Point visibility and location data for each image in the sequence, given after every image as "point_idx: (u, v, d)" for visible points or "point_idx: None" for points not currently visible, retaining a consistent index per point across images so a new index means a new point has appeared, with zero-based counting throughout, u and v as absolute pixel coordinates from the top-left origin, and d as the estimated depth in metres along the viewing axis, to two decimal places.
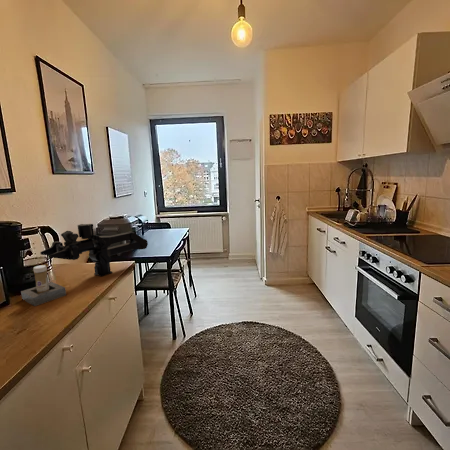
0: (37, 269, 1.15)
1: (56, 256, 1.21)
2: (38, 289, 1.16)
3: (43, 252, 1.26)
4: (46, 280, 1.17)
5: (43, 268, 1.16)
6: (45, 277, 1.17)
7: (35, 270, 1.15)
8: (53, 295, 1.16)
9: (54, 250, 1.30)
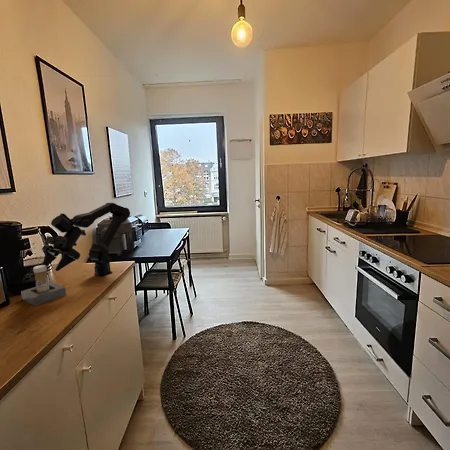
0: (37, 269, 1.15)
1: (61, 267, 1.19)
2: (38, 289, 1.16)
3: None
4: (46, 280, 1.17)
5: (43, 268, 1.16)
6: (45, 277, 1.17)
7: (35, 270, 1.15)
8: (53, 295, 1.16)
9: (50, 256, 1.25)
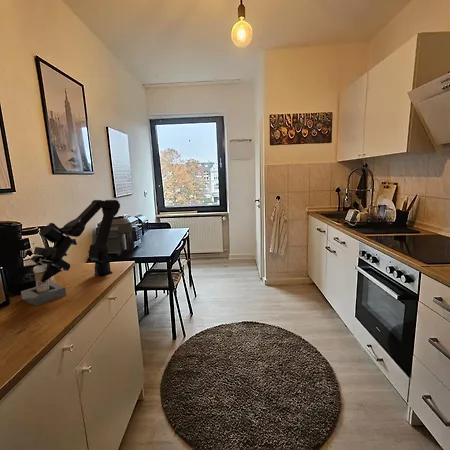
0: (37, 269, 1.15)
1: (47, 278, 1.17)
2: (38, 289, 1.16)
3: None
4: (46, 280, 1.17)
5: (43, 268, 1.16)
6: None
7: (35, 270, 1.15)
8: (53, 295, 1.16)
9: None
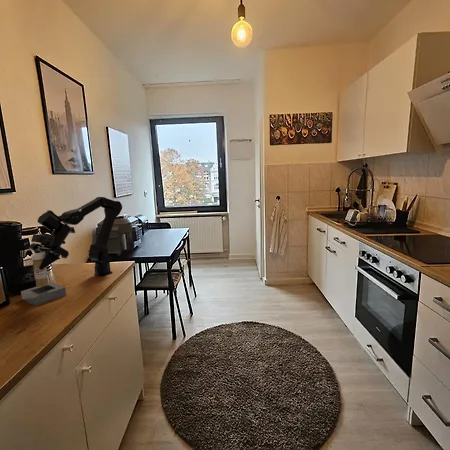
0: (35, 256, 1.14)
1: (45, 265, 1.16)
2: (36, 276, 1.15)
3: None
4: (44, 268, 1.17)
5: (41, 255, 1.15)
6: None
7: (33, 257, 1.14)
8: (53, 295, 1.16)
9: None
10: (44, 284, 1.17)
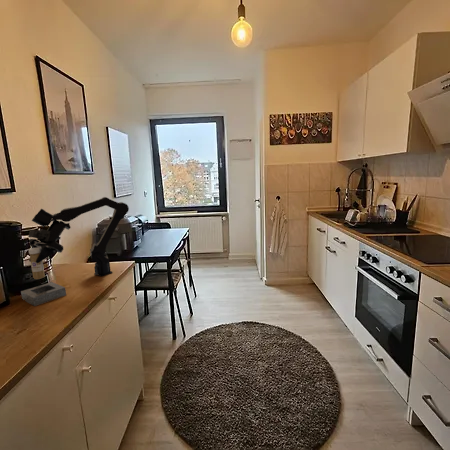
0: (32, 250, 1.22)
1: (41, 259, 1.24)
2: (33, 269, 1.24)
3: None
4: (41, 261, 1.25)
5: (37, 249, 1.23)
6: None
7: (30, 251, 1.22)
8: (53, 295, 1.16)
9: None
10: (40, 277, 1.25)
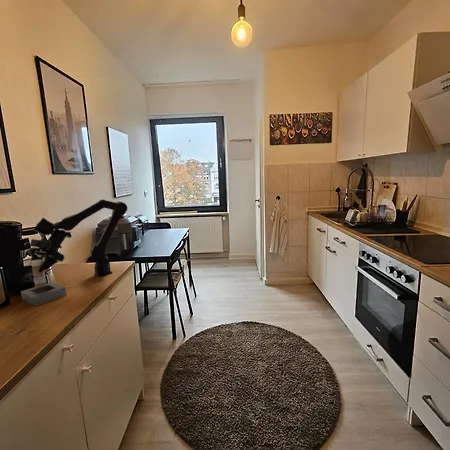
0: (34, 263, 1.23)
1: (44, 268, 1.24)
2: (35, 281, 1.25)
3: None
4: (43, 273, 1.26)
5: (40, 262, 1.25)
6: None
7: (32, 264, 1.23)
8: (53, 295, 1.16)
9: (36, 258, 1.29)
10: None
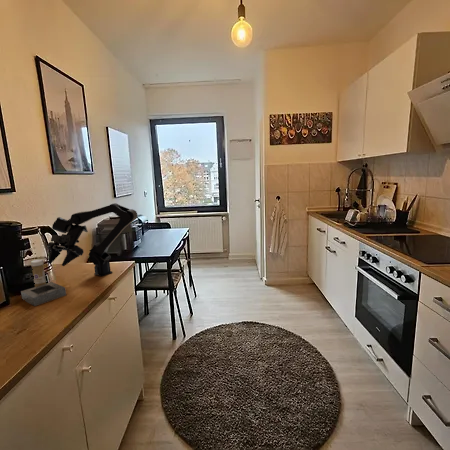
0: (34, 263, 1.23)
1: (67, 262, 1.32)
2: (35, 281, 1.25)
3: (50, 261, 1.35)
4: (43, 273, 1.26)
5: (40, 261, 1.25)
6: (42, 270, 1.26)
7: (32, 264, 1.24)
8: (53, 295, 1.16)
9: (55, 252, 1.38)
10: None
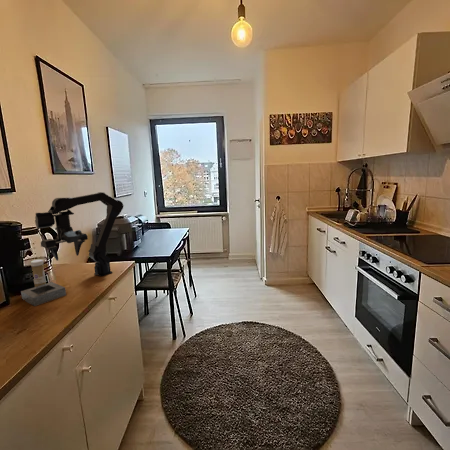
0: (34, 263, 1.23)
1: None
2: (35, 281, 1.25)
3: None
4: (42, 273, 1.26)
5: (39, 262, 1.24)
6: (42, 270, 1.26)
7: (32, 264, 1.23)
8: (53, 295, 1.16)
9: None
10: None
